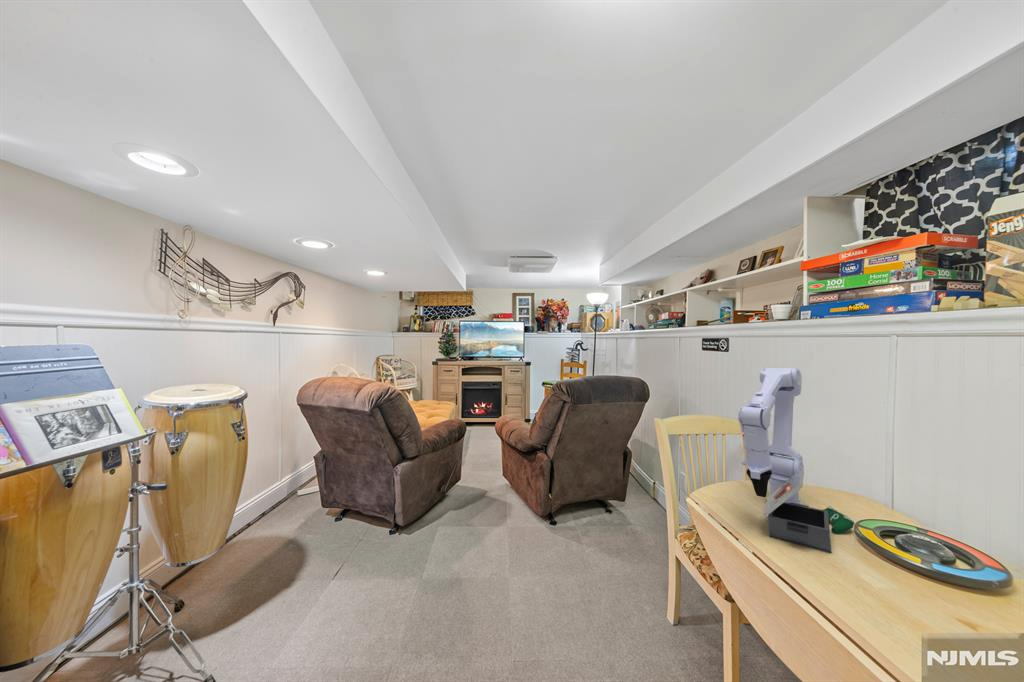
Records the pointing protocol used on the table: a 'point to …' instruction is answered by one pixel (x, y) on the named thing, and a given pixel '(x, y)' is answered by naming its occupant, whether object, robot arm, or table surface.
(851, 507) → the table surface
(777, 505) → the lid
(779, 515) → the storage bin
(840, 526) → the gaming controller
